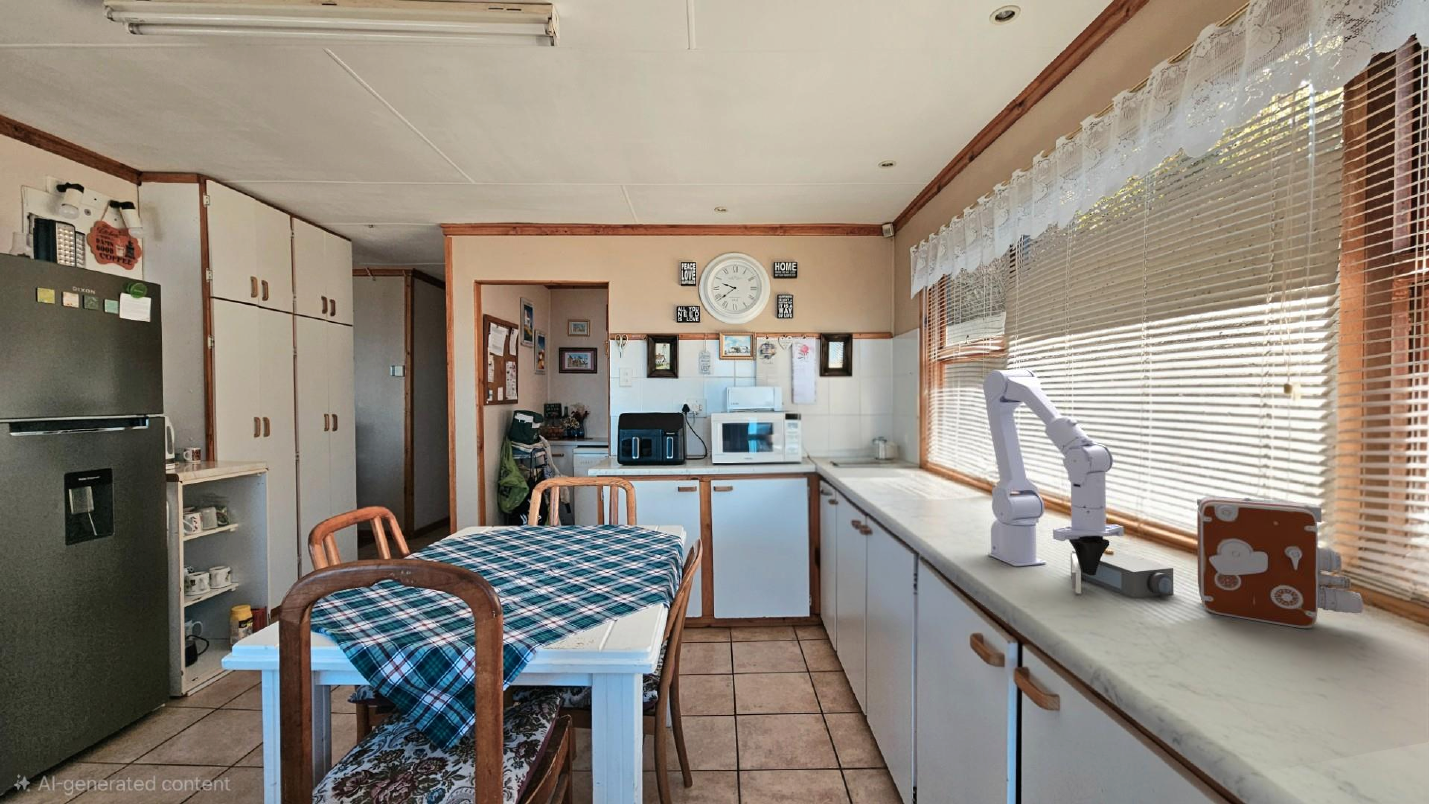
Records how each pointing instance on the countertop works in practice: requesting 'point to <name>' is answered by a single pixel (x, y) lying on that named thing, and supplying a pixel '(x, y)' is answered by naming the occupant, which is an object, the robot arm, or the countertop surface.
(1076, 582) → the side door
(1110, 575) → the camera body
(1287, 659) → the countertop surface
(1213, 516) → the cine camera
